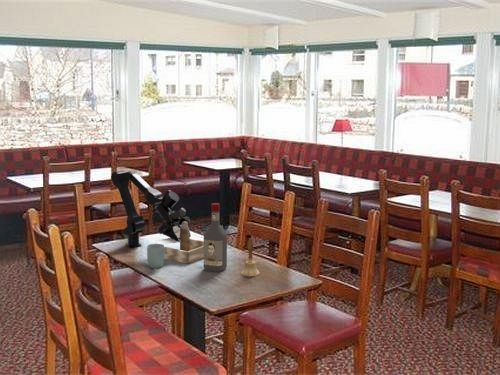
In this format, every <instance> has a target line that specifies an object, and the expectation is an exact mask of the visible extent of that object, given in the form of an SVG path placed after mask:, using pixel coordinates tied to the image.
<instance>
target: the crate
mask: <svg viewBox="0 0 500 375" xmlns="http://www.w3.org/2000/svg"><path fill="white" fill-rule="evenodd" d="M164 248H165V257H164V260H170V261H174V262H179V263H183V264H184V263H185V264H188V265H189V264H192V263H194V262H196V261H199V260H203V259H204V240H200V239H195V238H190V251H183V250H180V249H179V248H178V249H177V248H172V247H168V246H164Z"/></svg>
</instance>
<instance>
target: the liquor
mask: <svg viewBox="0 0 500 375" xmlns="http://www.w3.org/2000/svg"><path fill="white" fill-rule="evenodd" d="M220 207H221V205H220V203H218V202H214V203H213V202H211V207H210V208H211V223H210V225H209V227H208V228H207V229H206V230H205V232H204V234H203V241H204V258H203V268H204V270H205V271H206V272H212V273H213V272H214V273H221V272H223V271H225V270H226V269H227V267H228V266H227V265H228V260H227V259H228V233H227V231H226V230H225V229H224V227H223V226H222V225H221V223H220V210H221V208H220Z"/></svg>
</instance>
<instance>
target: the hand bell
mask: <svg viewBox="0 0 500 375" xmlns="http://www.w3.org/2000/svg"><path fill="white" fill-rule="evenodd" d="M247 251H248V260H246V261H245V264H244V268H243V270H242V271H241V272H240V274H241V275H242V276H244V277H258V276H259V275H261V273H260V271H259V270H258V268H257V262H256V261H255V260H253V251H254V242H253V238H250V237H249V238H248V242H247Z"/></svg>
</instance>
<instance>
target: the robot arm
mask: <svg viewBox="0 0 500 375" xmlns="http://www.w3.org/2000/svg"><path fill="white" fill-rule="evenodd" d="M110 180H111V182H112V183H113V185H114V187H116V189H117V190H118V192H119V195H120V198H121V201H122V204H123V207H124V210H125V212H126V217H127V218H126V227H125V228H124V229H123V230H122V231H123V234H124V235H126V236H127V242H126V243H125V246H127V247H128V248H134V247H141V246H142V244H141V243H140V234H143V232H144V228H145V223H146V221H145V220H144V217H143V215H142V214H138V212H137V210H136V209H137V208H136V206H135V203H134V201H133V198H132V194H131V191H130V189H129V183H130V182H131V184H133V185H134V186H135V187H136V188H137V189H138V190H139V191H140V192H141V193H142V194H143V195H144V198H145V201H147V203H148V204H149V206H153V209H152V212H153V213H158V214H159V216H160V217H161V219H160V221H161V222H163V223H162V224H161V225H160V226H159V227H158V228H157V232H158V233H159V234H160V235H163V236H166V237H168V238H169V239H172V240H174V241H175V242H180V238H178V237H177V236H176V234H175V233H174V231H173V228H174V227H175V226H178V227H179V228H181V226H182V222H183V221H186V222H187V223H188V225H189V224H190V222H191V219H190V217H189V216H186V214H187V210H186V208H184V207H181V208H179V209H178V210H177V211H175V210H172V209H171V208H173V207H174V206H175V205H176V204H177V203H178V202H179V201H180V196H179V194H178V193H176V192H174V191H172V189H171V190H167V191H166V193H165V194H163V193H162V192H161V191H159V190H158V189H156V188H153V187H152V186H150V185H149V184H148V183H147V182H146V181H145V180H144V179H143V177H141V176H140V175H139V174H138V172H137V171H136V170H129V171H125V170H118V171H113V172H112V173H111V176H110ZM155 205H156V206H155ZM191 237H192V236H191V234H190V238H191Z"/></svg>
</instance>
